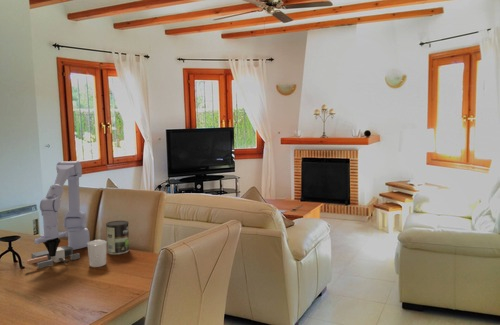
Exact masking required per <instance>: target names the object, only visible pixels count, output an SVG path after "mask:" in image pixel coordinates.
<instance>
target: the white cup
mask: <svg viewBox="0 0 500 325" xmlns="http://www.w3.org/2000/svg"><path fill="white" fill-rule="evenodd" d="M87 246H88V247H87V255H88V262H89V264H88V265H89V266H90V267H91V268H101V267H103V266H106V264H107V240H105V239H94V240H90V242H88V243H87Z"/></svg>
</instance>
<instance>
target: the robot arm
mask: <svg viewBox="0 0 500 325" xmlns="http://www.w3.org/2000/svg"><path fill="white" fill-rule="evenodd" d="M82 167H83V166H82V164H81V162H80V161H79V160H75V161H72V160H70V161H61V160H59V161H58V162H57V163H56V168H55V169H56V173H57V174H56V178H55V181H54V184H52V185H51V186H50V187H49V189H48V191H47V193H46V194H45V195H46V196H45V197H44V198H43V199H41V200H40V203H39V209H40V212H41V216H42V220H43V222H42V224H43V236H40V237H38V238H35V239H34V240H33V241H34V245H39V244H42V243H43V245H44V247H45V248H46V250H48V252H49V255H50V256H51V257H54V256H55V255H56V250H57V247H59V245H60V243H61V239H60V238H63V237H64V238H65V237H67V243H68V244H67V246H69V247H72V248H73V251H75V250H79V249H83V248H88V246H87V243H88V242H90V241H91V239H90V231H89V229H88V228H87V226H88V219H87V214H86V212H84V211H82V209H81V205H80V200H81V199H80V178H81V177H82V176H83V175H82V174H83V168H82ZM66 181H67V186H68V187H67V188H68V189H67V190H68V211H67V212H66V213H65V214H64V215H63V224H62V226H63V228H64V229H66V230H65V231H60V230H59V212H58V211H59V210H60V207H61V198H62V195H63V193H64V192H65V190H64V185H65V183H66ZM59 231H60V232H59Z"/></svg>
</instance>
